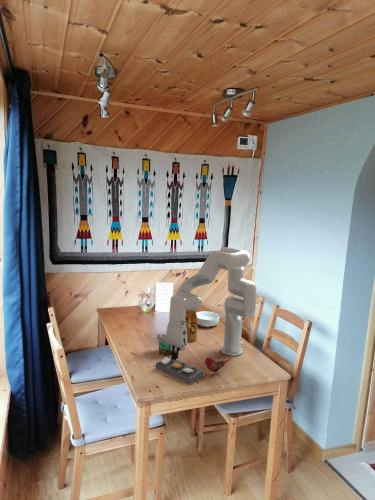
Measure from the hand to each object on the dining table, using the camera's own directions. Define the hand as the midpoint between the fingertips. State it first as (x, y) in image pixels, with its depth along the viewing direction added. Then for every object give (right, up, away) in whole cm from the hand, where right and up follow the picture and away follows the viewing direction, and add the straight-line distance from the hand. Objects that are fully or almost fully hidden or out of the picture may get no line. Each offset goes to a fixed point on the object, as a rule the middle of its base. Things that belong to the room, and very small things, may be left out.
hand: (174, 358), depth 178 cm
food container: (-6, -5, +24) cm, 26 cm away
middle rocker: (+1, -4, +2) cm, 5 cm away
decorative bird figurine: (+21, -9, +5) cm, 23 cm away
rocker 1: (-5, -3, +6) cm, 8 cm away
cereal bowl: (+19, +1, +72) cm, 74 cm away
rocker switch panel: (+2, -8, +4) cm, 9 cm away
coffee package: (+6, -2, +47) cm, 47 cm away
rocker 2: (+6, -5, -2) cm, 8 cm away
